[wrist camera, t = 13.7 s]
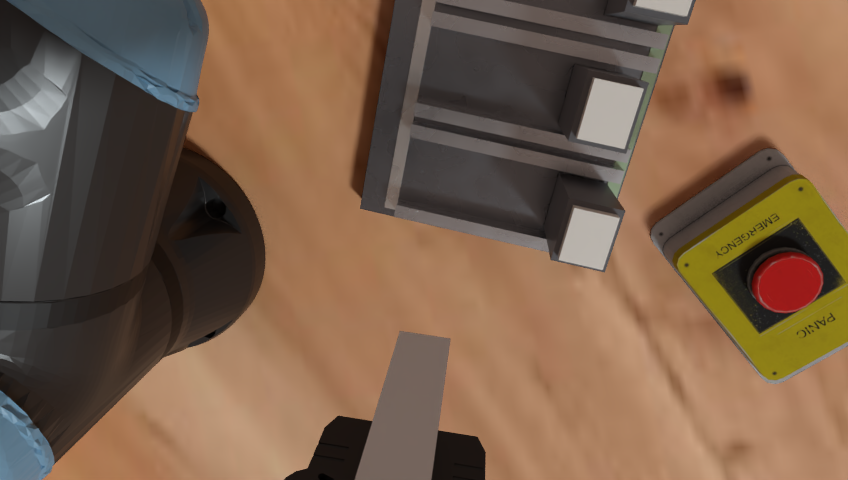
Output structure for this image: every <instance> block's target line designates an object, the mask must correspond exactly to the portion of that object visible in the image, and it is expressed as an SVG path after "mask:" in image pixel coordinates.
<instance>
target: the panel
mask: <svg viewBox="0 0 848 480" xmlns="http://www.w3.org/2000/svg"><path fill="white" fill-rule="evenodd" d="M607 3H608V0H395V4H394V10H393V16H392V22H391V28H390V34H389V39H388V45H387V51H386V57H385V63H384V69H383V75H382V81H381V87H380V93H379V99H378V105H377V111H376V117H375V123H374V129H373V135H372V141H371V147H370V153H369V159H368V165H367V170H366V176H365V182H364V188H363V194H362V200H361V206H360V209H364V210H368V211H373V212H377V213H381V214H386V215H390V216H394V217H398V218H402V219H407V220H411V221H415V222H420V223H424V224H428V225H433V226H437V227H441V228H446V229H450V230H454V231H459V232H463V233H468V234H472V235H476V236H481V237H485V238H489V239H494V240H498V241H502V242H507V243H511V244H515V245H520V246H524V247H528V248H533V249H537V250H541V251H546V252H549V249H548V244H547V239H546V235H545V230H544V224H545V220H546V217H547V213H548V210H549V206H550V203H551V199H552V196H553V192H554V189H555V185H556V182H557V178H558V175H559V173H562V174H567V175H571V176H575V177H580V178H584V179H589V180H593V181H598V182H602V183H607V185H608V186H609V188H610V189H611V191H612V192H613V194H614V195H615V197H616V198H617V199H618V197H619V194H620V191H621V187H622V184H623V181H624V178H625V175H626V172H627V169H628V166H629V163H630V160H631V157H632V154H633V151H634V148H635V145H636V142H637V139H638V136H639V132H640V129H641V126H642V123H643V120H644V117H645V114H646V111H647V108H648V105H649V102H650V99H651V96H652V93H653V90H654V87H655V84H656V81H657V77H658V74H659V71H660V68H661V65H662V62H663V59H664V56H665V53H666V50H667V47H668V44H669V41H670V38H671V35H672V32H673V29H674V26H675V25H660V26H656V25H651V24H647V23H642V22H637V21H632V20H627V19H623V18H618V17H613V16H608V15H604V14H605V10H606V7H607ZM575 64H579V65H584V66H589V67H593V68H598V69H603V70H608V71H612V72H617V73H622V74H626V75H629V76H632V77H634V78H637V79H640V80H643V81H646V82H648V83H649V85H648V88H647V91H646V94H645V97H644V100H643V103H642V106H641V110H640V113H639V116H638V119H637V122H636V125H635V128H634V131H633V134H632V137H631V140H630V144H629V147H628V150H627V153H626V154H624V153H620V152H615V151H611V150H606V149H601V148H597V147H592V146H588V145H583V144H579V143H574V142H570V141H568V140H567V138H566V137H565V135H564V133H563V132H562V130H561V128H560V126H559V125H558V122H559V119H560V115H561V111H562V108H563V104H564V101H565V97H566V93H567V90H568V86H569V83H570V79H571V75H572V72H573V68H574V65H575Z"/></svg>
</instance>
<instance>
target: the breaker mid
mask: <svg viewBox="0 0 848 480" xmlns="http://www.w3.org/2000/svg"><path fill="white" fill-rule="evenodd" d="M648 85H649V83H648V82H646V81H643V80H640V79H637V78H634V77H632V76H629V75H626V74H622V73H617V72H612V71H608V70H603V69H598V68H593V67H589V66H584V65H579V64H575V65H574V68H573V72H572V75H571V79H570V83H569V86H568V90H567V93H566V97H565V101H564V104H563V108H562V111H561V115H560V119H559V122H558V125H559V126H560V128H561V130H562V132H563V133H564V135H565V137H566V138H567V140H568V141H570V142H574V143H579V144H583V145H588V146H592V147H597V148H601V149H606V150H611V151H615V152H620V153H624V154H626V153H627V150H628V147H629V144H630V140H631V137H632V134H633V131H634V128H635V125H636V122H637V119H638V116H639V113H640V110H641V106H642V103H643V100H644V97H645V94H646V91H647V88H648Z"/></svg>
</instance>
